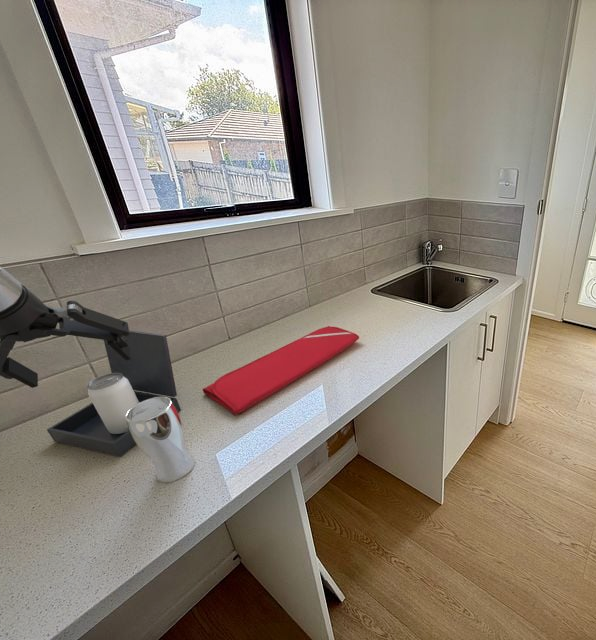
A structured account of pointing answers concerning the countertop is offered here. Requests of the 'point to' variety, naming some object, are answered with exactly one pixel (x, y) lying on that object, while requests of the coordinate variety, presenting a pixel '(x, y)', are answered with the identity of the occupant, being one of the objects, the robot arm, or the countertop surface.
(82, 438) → the tray
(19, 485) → the countertop surface
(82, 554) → the countertop surface
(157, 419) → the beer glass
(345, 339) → the dish drying mat
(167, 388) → the lid
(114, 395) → the can
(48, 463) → the countertop surface
